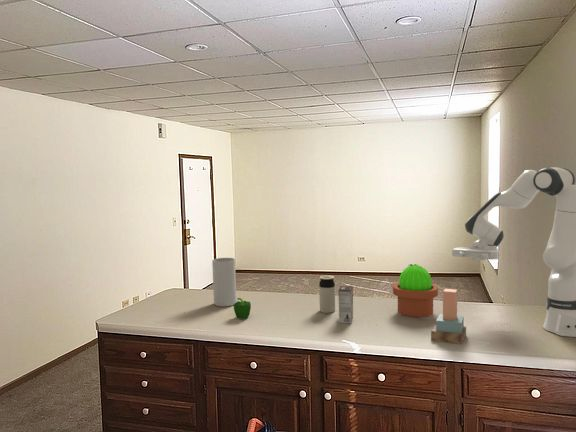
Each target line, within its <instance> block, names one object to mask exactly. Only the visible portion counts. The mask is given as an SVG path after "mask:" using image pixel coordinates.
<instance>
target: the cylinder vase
mask: <svg viewBox="0 0 576 432" xmlns="http://www.w3.org/2000/svg"><path fill="white" fill-rule="evenodd" d="M211 260H212V261H211V262H212V266H211V267H212V287H213V289H212V291H213V304H214V306H216V307H222V308H224V307H232V306H234V304H235V303H236V302H237V280H236V259H235V258H234V257H218V258H213V259H211Z"/></svg>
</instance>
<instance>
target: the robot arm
mask: <svg viewBox="0 0 576 432" xmlns="http://www.w3.org/2000/svg"><path fill="white" fill-rule="evenodd" d="M575 183H576V177H575V174H574V173H573V172H572V171H571V170H570V169H567V168H564V167H563V168H562V167H556V166H553V167H544V168H541V169H540V170H538V171H537V170H534V169H526V170H524V172H522V173H521V174H520V175H519V176H517V178H516V179H515V180H514V182H513V183H512V185H511V186H510V187H509V188H508V189H507V190H504V191H498V192H497V193H495V194H494V195H493V196H492V197H491V198H490V199H488V201H486V203H484V205H482V206H481V207H480V209H478V211H476V213H473V214H472V216H469V218H468V219H466V221H465V223H464V227H465V228H464V229H465V231H466V233H469V234H470V235H472V236H474V237H476V238H477V239H476V240H475V241H474V242H472V243H471V244H470V245H468V246H467V247H460V246H459V247H454V248H452V252H451V254H452V257H457V258H458V257H459V258H470V259H471V260H472V261H476V262H477V261H478V262H479V261H486V260H498V259H499V249H498V246H499V245H500V244H501V243H502V241H503V239H504V234H505V233H504V230H502V229H501V228H500V227H498V226H497V225H495V224H493V223H492V222H490V221H488V220H487V219H486V218H485V217H486V215H487V214H488V213H489V212H490V211H491V210H493V208H495V207H501V208H507V209H511V210H521V209H526V207H528V206H529V205H530V203H531V202H532V201H533V200H534V199H535V197H536V196H537V195H538V193H540V192H542V193H545V194H547V195H550V196H551V197H553V196H554V197H555V198H556V205H555V211H554V217H553V218H554V219H553V225H552V229H551V232H550V235H549V237H548V241H547V244H546V247H545V250H544V251H543V254H542V259H543V262H544V264H545V265H546V266H547V267H549V268H550V269H551V271H550V275H549V277H548V281H547V282H548V283H547V284H548V287H547V288H548V289H547V297H546V315H545V320H544V323H543V326H542V328H543V329H544V330H546V331H548V332H551V333H554V334H556V335H558V336H562V337H573V338H574V337H575V338H576V184H575Z"/></svg>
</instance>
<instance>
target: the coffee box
mask: <svg viewBox="0 0 576 432" xmlns="http://www.w3.org/2000/svg"><path fill="white" fill-rule="evenodd" d="M353 291H354V286H353V285H340V286H339V289H338V323H339V324H353V319H354V292H353Z"/></svg>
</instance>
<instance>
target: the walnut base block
mask: <svg viewBox="0 0 576 432" xmlns="http://www.w3.org/2000/svg"><path fill="white" fill-rule="evenodd" d="M466 337H467V326H466V325H465V326H464V327H463V330H462V333H461V334H459V333H450V332H441V331H436V325H435V326H434V327H433V328H432V329H431V330H430V340H431V341H435V342H443V343H449V344H455V345H462V343H463V341H464V340H465V338H466Z"/></svg>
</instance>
